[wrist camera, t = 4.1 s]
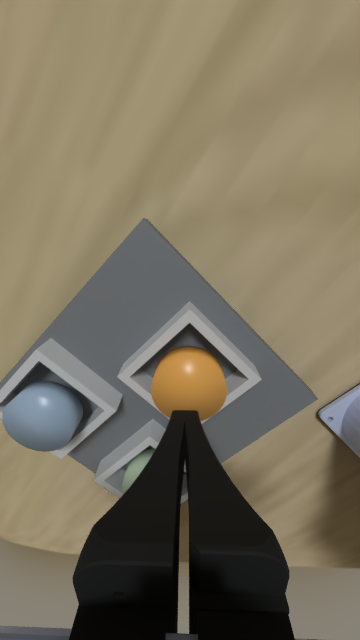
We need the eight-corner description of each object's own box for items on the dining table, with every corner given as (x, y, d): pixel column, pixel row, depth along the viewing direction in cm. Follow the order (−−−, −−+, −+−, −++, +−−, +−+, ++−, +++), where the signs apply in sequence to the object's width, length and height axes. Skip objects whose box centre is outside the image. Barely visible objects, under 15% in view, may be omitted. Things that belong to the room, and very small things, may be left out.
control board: (310, 389, 19) (331, 415, 17) (151, 497, 24) (146, 532, 22) (146, 219, 15) (137, 216, 13) (-4, 389, 20) (-34, 415, 18)
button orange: (237, 377, 16) (242, 393, 14) (188, 415, 17) (188, 434, 16) (189, 331, 15) (189, 343, 13) (140, 375, 16) (135, 391, 15)
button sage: (192, 469, 20) (192, 489, 19) (155, 494, 22) (152, 515, 20) (152, 439, 19) (149, 457, 18) (116, 467, 21) (110, 487, 19)
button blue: (95, 408, 17) (86, 426, 16) (59, 441, 19) (46, 461, 17) (42, 368, 16) (26, 383, 15) (7, 406, 18) (-11, 423, 16)
